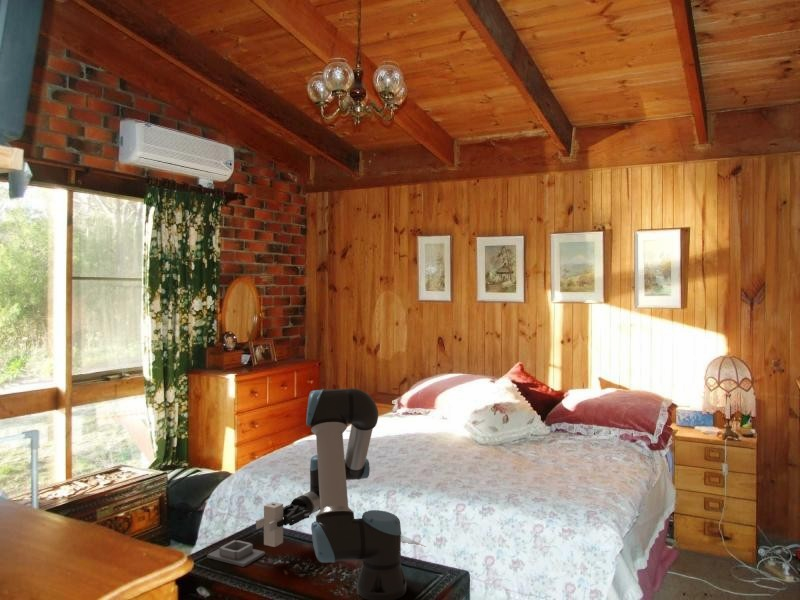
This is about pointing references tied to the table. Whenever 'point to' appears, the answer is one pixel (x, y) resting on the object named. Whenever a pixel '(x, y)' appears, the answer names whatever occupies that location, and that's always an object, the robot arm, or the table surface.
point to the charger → (271, 514)
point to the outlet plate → (236, 553)
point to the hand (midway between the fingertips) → (263, 526)
